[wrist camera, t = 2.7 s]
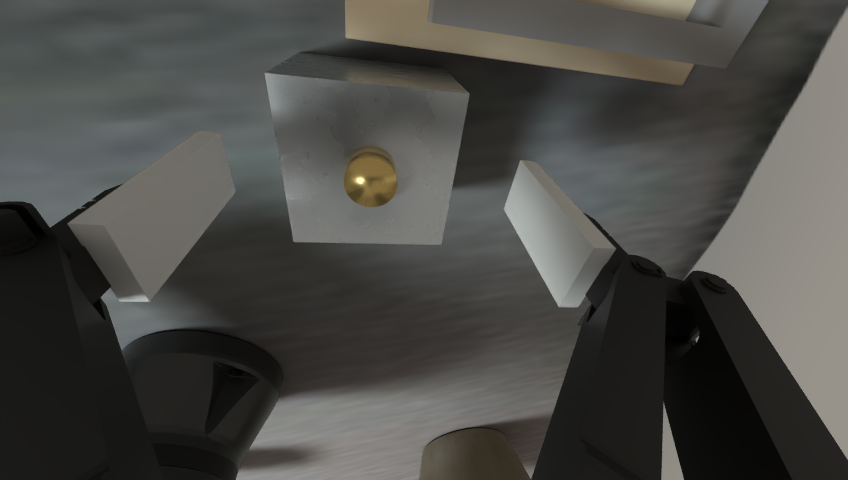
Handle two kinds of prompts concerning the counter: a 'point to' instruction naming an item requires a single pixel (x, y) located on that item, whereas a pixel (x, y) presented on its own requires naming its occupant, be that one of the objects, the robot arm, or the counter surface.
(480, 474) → the plant pot
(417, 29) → the board
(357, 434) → the counter surface
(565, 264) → the robot arm
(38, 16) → the counter surface
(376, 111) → the lock block
